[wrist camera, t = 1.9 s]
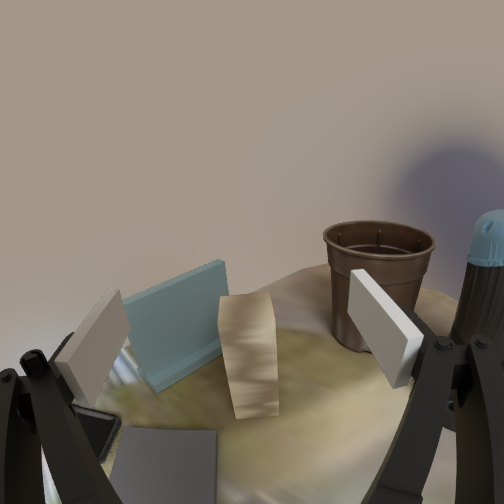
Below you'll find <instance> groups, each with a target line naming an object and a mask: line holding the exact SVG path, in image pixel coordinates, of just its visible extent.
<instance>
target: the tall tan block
mask: <svg viewBox="0 0 504 504" xmlns="http://www.w3.org/2000/svg"><path fill="white" fill-rule="evenodd" d="M218 330H219V336H220V341H221V347H222V352H223V357H224V363H225V368H226V373H227V378H228V383H229V388H230V393H231V398H232V403H233V408H234V412H235V417H236V419H251V418H262V417H272V416H279V393H278V368H277V346H276V325H275V316H274V311H273V306H272V302H271V297H270V293H269V292H264V293H253V294H243V295H232V296H220V303H219V313H218Z"/></svg>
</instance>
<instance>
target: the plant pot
mask: <svg viewBox="0 0 504 504" xmlns="http://www.w3.org/2000/svg"><path fill="white" fill-rule="evenodd" d="M323 239H324V241H325V242H326V243H327V253H328V263H329V265H330V266H331V281H332V308H333V333H334V336H335V337H336V339H337V340H338V341H339V342H340V343H341V344H342V345H344V346H345V347H347V348H349V349H351V350H354V351H357V352H363V351H368V352H371V350H370V349H369V347H368V345H367V344H366V342H365V340H364V339H363V337H362V335H361V334H360V332H359V330H358V329H357V327H356V325H355V324H354V322H353V321H352V319H351V317H350V316H349V314H348V312H347V311H348V301H349V289H350V276H351V270H358V269H364V270H365V271H366V272H367V273H368V274H369V276H370V277H371V278H372V279H373V280H374V281H375V282H376V283H377V284H378V285H379V286H380V287H381V288H382V289H383V290H384V291H385V293H386V294H387V295H388V296H389V297H390V298H391V299H392V300H393V301H394V302H395V303H396V305H397V306H398V307H403V306H405V307H407V308H409V309H411V310H414V307H415V304H416V300H417V297H418V293H419V290H420V286H421V283H422V279H423V275H424V274H425V273H426V271H427V267H428V263H429V260H430V256H431V252H432V251H433V250H434V248H435V246H436V241H435V239H434V238H433V237H432V236H431V235H430V234H429V233H427V232H425V231H423V230H421V229H418V228H416V227H413V226H409V225H405V224H400V223H394V222H387V221H350V222H344V223H339V224H335V225H333V226H330V227H329V228H327V229H326V230H325V231H324V232H323ZM371 353H372V352H371Z"/></svg>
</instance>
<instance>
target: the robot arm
mask: <svg viewBox="0 0 504 504" xmlns="http://www.w3.org/2000/svg"><path fill="white" fill-rule="evenodd" d="M467 261H468V263H467V268H466V274H465V279H464V283H463V288H462V292H461V296H460V300H459V304H458V308H457V312H456V315H455V319H454V322H453V325H452V329H451V331H450V333H449V334H448V336H447V337H444V336H436V335H435V334H434V333H433V332H432V331H431V330H430V328H429V327H428V326H427V325H426V324H425V323H424V322H423V321H422V320H421V319H420V318H418V315H417V314H416V313H415V312H414V311H413V310H411V309H409V308H407V307H405V306H403V307H398V306H397V305H396V303H395V302H394V301H393V300H392V299H391V298H390V297H389V296H388V295H387V294H386V293H385V291H384V290H383V289H382V288H381V287H380V286H379V285H378V284H377V283H376V282H375V281H374V280H373V279H372V278H371V277H370V276H369V274H368V273H367V272H366V271H365V270H364V269H358V270H351V276H350V289H349V301H348V311H347V312H348V314H349V316H350V317H351V319H352V321H353V322H354V324H355V325H356V327H357V329H358V330H359V332H360V334H361V335H362V337H363V339H364V340H365V342H366V344H367V345H368V347H369V349H370V350H371V352H372V354H373V355H374V357H375V359H376V360H377V362H378V364H379V366H380V367H381V369H382V371H383V372H384V374H385V376H386V378H387V379H388V381H389V383H390V385H391V386H392V388H393V389H395V388H399V387H402V386H406V385H408V383H409V380H410V377H411V375H412V377H413V378H414V380H415V383H414V385H413V388H412V390H411V393H410V395H409V400H408V403H407V406H406V409H405V411H404V414H403V417H402V419H401V422H400V424H399V427H398V429H397V432H396V434H395V436H394V439H393V441H392V443H391V446H390V448H389V450H388V452H387V454H386V457H385V459H384V461H383V463H382V465H381V467H380V469H379V471H378V473H377V475H376V477H375V479H374V481H373V482H372V484H371V486H370V488H369V490H368V492H367V493H366V495H365V497H364V499H363V500H362V502H361V504H422V500H423V497H422V496H421V493H422V490H423V487H424V485H425V482H426V479H427V477H428V474H429V471H430V468H431V465H432V462H433V459H434V456H435V452H436V449H437V446H438V442H439V438H440V435H441V431H442V427H443V426H444V427H446V428H448V429H450V430H453V431H455V432H456V450H457V474H456V495H455V504H504V209H503V210H495V211H491V212H487V213H485V214H484V215H482V216H481V217H480V218H479V219H478V220H477V222H476V224H475V227H474V232H473V238H472V242H471V247H470V251H469V252H468V254H467ZM130 330H131V327H130V324H129V321H128V318H127V315H126V311H125V308H124V305H123V301H122V298H121V295H120V290H119V289H108V290H107V291H106V292H105V294H104V295H103V296H102V298H101V299H100V300H99V301H98V303H97V304H96V305H95V306H94V308H93V309H92V310H91V312H90V313H89V314H88V315H87V317H86V318H85V319H84V320H83V322H82V323H81V325H80V326H79V327H78V329H77V330H76V331H75V332H72V333H71V334H69V335H68V336H67V337H66V338H65V339H64V340H63V342H62V343H61V345H60V346H59V347H58V348H57V349H58V350H56V351H55V352H54V354H53V355H52V357H51V358H50V360H49V361H48V362H47V360H46V358H45V356H44V354H43V352H42V351H41V350H39V349H34V350H30V351H28V352H26V353H25V354H24V355H23V356H22V357H21V359H20V364H21V366H22V368H23V370H24V372H25V373H26V375H27V376H18V374H17V373H16V371H15V369H12V368H8V369H5V370H3V371H1V372H0V504H46V503H45V495H44V486H43V474H42V456H41V444H42V448H43V451H44V454H45V458H46V461H47V464H48V467H49V470H50V473H51V476H52V479H53V481H54V484H55V487H56V489H57V492H58V494H59V497H60V499H61V502H62V504H123V503H122V501H121V500H120V498H119V496H118V495H117V493H116V491H115V490H114V488H113V486H112V485H111V483H110V481H109V480H108V478H107V476H106V474H105V472H104V471H103V469H102V467H101V465H100V463H99V461H98V459H97V457H96V455H95V453H94V451H93V449H92V447H91V445H90V443H89V441H88V439H87V436H86V434H85V432H84V430H83V427H82V425H81V423H80V420H79V418H78V415H77V413H76V410H75V408H74V406H73V405H72V401H73V399H74V398H75V399H76V401H77V403H78V404H79V406H82V407H88V408H93V407H94V405H95V402H96V400H97V398H98V396H99V394H100V391H101V389H102V387H103V385H104V383H105V381H106V378H107V376H108V374H109V372H110V370H111V368H112V366H113V364H114V362H115V360H116V358H117V356H118V354H119V352H120V350H121V348H122V345H123V343H124V342H125V340H126V338H127V336H128V334H129V332H130Z"/></svg>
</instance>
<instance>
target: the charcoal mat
mask: <svg viewBox="0 0 504 504" xmlns="http://www.w3.org/2000/svg"><path fill="white" fill-rule="evenodd" d="M217 438H218V434H217V431H216V430H170V429H152V428H139V427H129V426H125V427H124V430H123V434H122V437H121V440H120V443H119V447H118V450H117V454H116V457H115V461H114V464H113V468H112V472H111V475H110V479H109V481H110V483H111V485H112V486H113V488H114V490H115V491H116V493H117V495H118V496H119V498H120V500H121V501H122V503H123V504H216V471H217Z"/></svg>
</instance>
